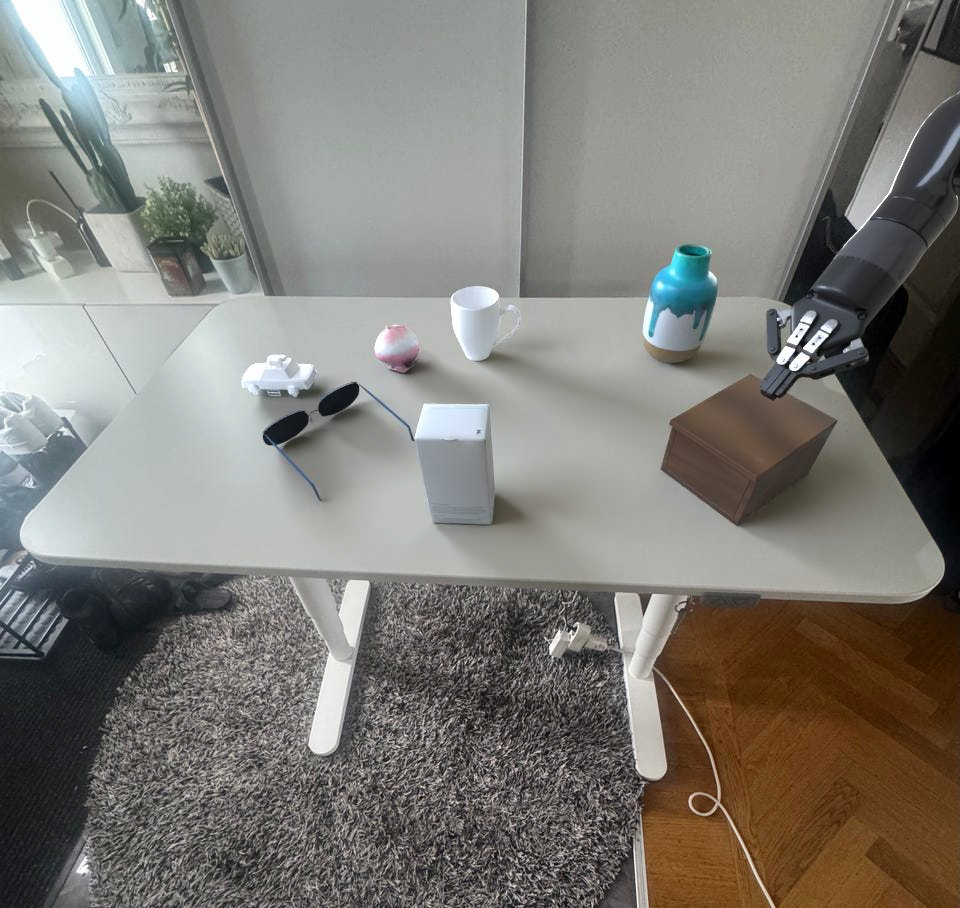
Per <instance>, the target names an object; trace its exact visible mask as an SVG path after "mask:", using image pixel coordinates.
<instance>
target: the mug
mask: <svg viewBox="0 0 960 908" xmlns="http://www.w3.org/2000/svg"><path fill="white" fill-rule="evenodd" d="M450 309H451V320H452V321H451V322H452V328H453V331H454V334H455V337H456V339H457V341H458V342H459V344H460V347H461V348H462V350H463V352H464V354H465V356H466V358H467V359H468V360H470V361H474V362H480V361H481V362H482V361H484V360H487V359H488V358H489V357H490V354H491V352H492V350H493V348H494V347H497V346H499V345H501V344H502V343H504V342H505V341H507V340H508V339H509V338H512V336H513V335H515V334H516V333H517V332H518V331H519V329H520V327H521V324H522V314H521V311H520V309H519V308H518V306H516V305H515V304H508V305H506V306H504V307H503V308H502V307H501V299H500V295H499V293H498V292H497V290H495V289H493V288H490V287H487V286H481V285H475V286H474V285H472V286H467V287H462V288H460V289H458V290H456V291H455V292H454V293H453V294H452V296H451V298H450ZM509 311H512V312H514V313H515V314H516V316H517V322H516V325H515V326H514V327H513V329H511V331H509V332H508V333H507V334H505V335H504V336H502V337H501V338H500V339H497V337H498V334H499V332H500V326H501V321H502V317H503V315H504V314H505V313H507V312H509Z"/></svg>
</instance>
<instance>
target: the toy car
mask: <svg viewBox="0 0 960 908" xmlns="http://www.w3.org/2000/svg"><path fill="white" fill-rule="evenodd" d="M266 360H267V361H266V362H263V363H254V364H252V365H250V366H249V367H248V368H247V370H246V372H245V373H244V374H243V376H242V380H241V383H240V384H241V387H242V389H246V388H248V391H249V393H251V394H253V395H254V396H258V395H259V393H260V392H261V390H266V392H267V395H268V396H273V397H277V396H278V397H281V396H282V394H281V390H287V392H288V394H289V395H290V396H293V397H294V398H297V397H298V395H299V393H300V390H310V388H311V387H312V385H313V384H314V382H315V381H316V378H317V376H318V370H317V369H316V366H314V365H313V364H312V363H311V364H310V363H309V364H308V363H297V362H296V361H295V360H294V359H292V358H291V357H288V356H286V355H285V354H271V355H269V356H267V357H266ZM269 390H278V391H269Z"/></svg>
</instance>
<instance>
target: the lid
mask: <svg viewBox="0 0 960 908" xmlns="http://www.w3.org/2000/svg"><path fill="white" fill-rule="evenodd" d="M762 380H763V379H762V378H760V377H758V376H756V375H754V374H753V373H749V374H747V375H745V376H744V377H742V378H741V379H738V380H737V381H735V382H733V383H731V384H730V385H728V386H726V387H725V388H723V389H721V390H720V391H717V392H716V393H715V394H712V395H711V396H709V397H708V398H706V399H704V400H703V401H701V402H699V403H697V404H695V405H694V406H692V407H690V408H689V409H686V410H685V411H684V412H682V413H679V414H678V415H676V416H675V417H673V418H671V419H670V420H669V423H668V424H669V426H670V427H671V428H672V427H674V428H675V429H677V430H678V431H680V432H681V433H683V434H684V435H686V436H687V437H689V438H690V439H692V440H693V441H695V442H696V443H698V444H699V445H701V446H702V447H704V448H705V449H707V450H708V451H710V452H711V453H713V454H714V455H716V456H717V457H719V458H720V459H722V460H723V461H725V462H726V463H728V464H729V465H731V466H732V467H734V468H735V469H737V470H738V471H740V472H741V473H743V474H744V475H746V476H747V477H749V478H750V479H752V480H753V481H756V480H758V479H759V478H761V477H762V476H764V475H765V474H766V473H768V472H769V471H771V470H772V469H773V468H775V467H776V466H778V465H779V464H781V463H782V462H783V461H785V460H786V459H788V458H789V457H790V456H792V455H793V454H795V453H796V452H798V451H799V450H800V449H802V448H803V447H805V446H806V445H808V444H809V443H810V442H812V441H813V440H815V439H816V438H817V437H819V436H820V435H822V434H823V433H825V432H826V431H827V430H829V429H830V428H832V427H833V426H834V427H836V425H837V424H838V421H839V420H838V419H837V418H835V417H833V416H832V415H829V414H827V413H825V412H824V411H822V410H820V409H819V408H817V407H814V406H812V405H810V404H808V403H807V402H804V401H803V400H801V399H799V398H797V397H796V396H793V395H792V394H790V393H788V392H787V393H786V394H785V395H784V396H783V397H782V398H780V399H779V398H776V399H775V400H774V401H772V400H770V399H768V398H767V397H765V396H763V395H762V394H761V392H760V390H761V387H760V383H761V381H762Z"/></svg>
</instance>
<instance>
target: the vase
mask: <svg viewBox="0 0 960 908" xmlns="http://www.w3.org/2000/svg"><path fill="white" fill-rule="evenodd" d="M711 258H712V250H711V248H709V247H708V246H706V245H704V244H700V243H694V242H689V243H688V242H687V243H681V244H679V245H677V246H676V247H675V249H674V252H673V256H672V259H671V262H670V265H667V266H666V267H664V268H662V269H661V270H659V272H657V274H656V275H655V277H654V279H653V281H652V284H651V286H650V289H649V293H648V298H647V302H646V307H645V311H644V316H643V324H642V336H641V337H642V343H643V347H644V349H645V350H646V352H647V353H648V354H649V356H651V357H652V358H654V359H656V360H658V361H660V362H665V363H675V364H676V363H681V362H682V363H683V362H685V361H688V360H689V359H690V358H692V357H694V356H695V355H696V354H697V353H698V352H699V350H700V349H701V347H702V345H703V343H704V341H705V338H706V336H707V333H708V331H709V328H710V324H711V321H712V317H713V314H714V310H715V307H716V301H717V298H718V297H717V296H718V291H719V284H718V279H717V277H716V275H714V273H713V272H711V270H709V268H710V264H711V263H710V262H711Z"/></svg>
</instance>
